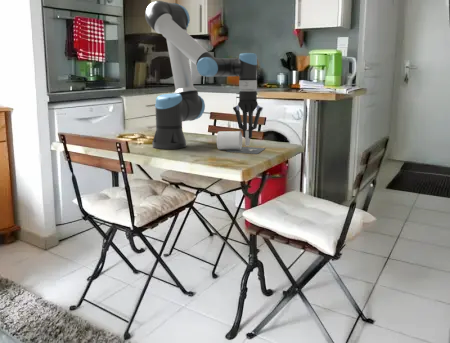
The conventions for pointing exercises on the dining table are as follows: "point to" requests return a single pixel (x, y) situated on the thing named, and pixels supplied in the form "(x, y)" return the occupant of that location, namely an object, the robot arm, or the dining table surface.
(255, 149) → the tile
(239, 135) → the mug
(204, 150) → the dining table surface
